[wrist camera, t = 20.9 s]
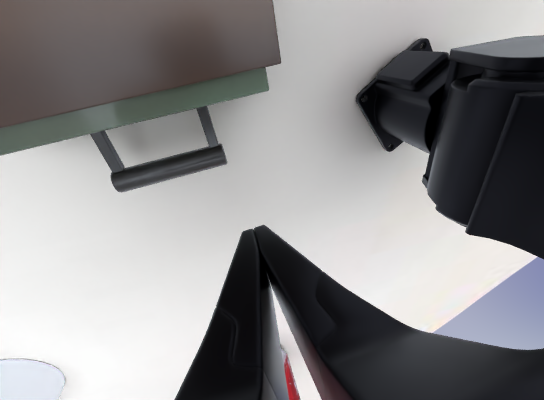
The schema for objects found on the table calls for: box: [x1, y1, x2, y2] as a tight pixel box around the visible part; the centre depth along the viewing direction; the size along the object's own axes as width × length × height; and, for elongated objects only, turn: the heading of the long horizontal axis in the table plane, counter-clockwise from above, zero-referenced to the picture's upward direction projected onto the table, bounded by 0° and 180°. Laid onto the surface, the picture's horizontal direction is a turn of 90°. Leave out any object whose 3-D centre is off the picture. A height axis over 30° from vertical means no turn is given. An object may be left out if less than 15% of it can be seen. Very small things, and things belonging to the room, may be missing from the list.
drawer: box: [0, 67, 269, 192], centre depth 12 cm, size 18×13×5 cm
